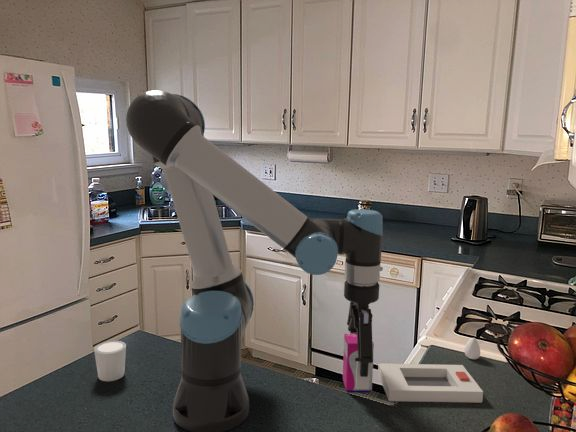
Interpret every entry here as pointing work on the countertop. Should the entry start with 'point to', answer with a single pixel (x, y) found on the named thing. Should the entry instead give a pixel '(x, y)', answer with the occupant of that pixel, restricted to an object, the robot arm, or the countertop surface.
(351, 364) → the supplement box
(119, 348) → the white candle
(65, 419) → the countertop surface
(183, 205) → the robot arm
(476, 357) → the egg
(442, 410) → the countertop surface
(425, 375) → the socket plate
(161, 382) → the countertop surface
